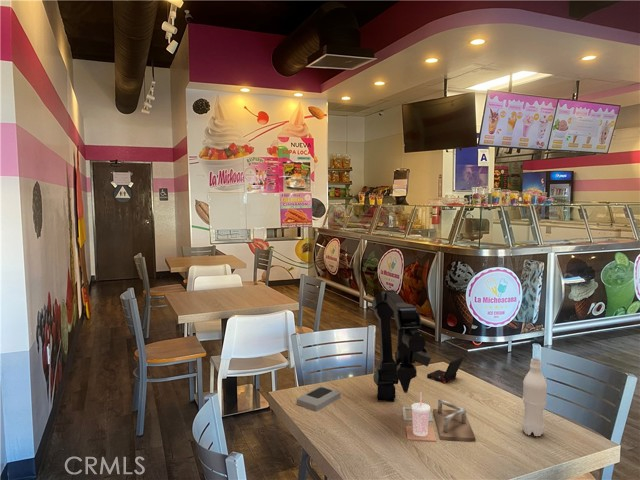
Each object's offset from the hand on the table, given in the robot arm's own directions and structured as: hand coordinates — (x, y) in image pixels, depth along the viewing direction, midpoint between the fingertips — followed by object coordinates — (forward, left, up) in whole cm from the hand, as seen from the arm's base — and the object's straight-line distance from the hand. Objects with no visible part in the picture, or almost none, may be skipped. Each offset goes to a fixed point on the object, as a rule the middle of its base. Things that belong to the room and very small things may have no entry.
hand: (404, 387), depth 164 cm
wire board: (+16, 0, -13) cm, 21 cm away
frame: (+5, +7, -13) cm, 16 cm away
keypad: (-31, +14, -14) cm, 37 cm away
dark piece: (+20, +43, -13) cm, 49 cm away
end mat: (+5, -7, -13) cm, 15 cm away
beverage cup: (+5, -7, -13) cm, 15 cm away
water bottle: (+42, -2, -13) cm, 44 cm away
